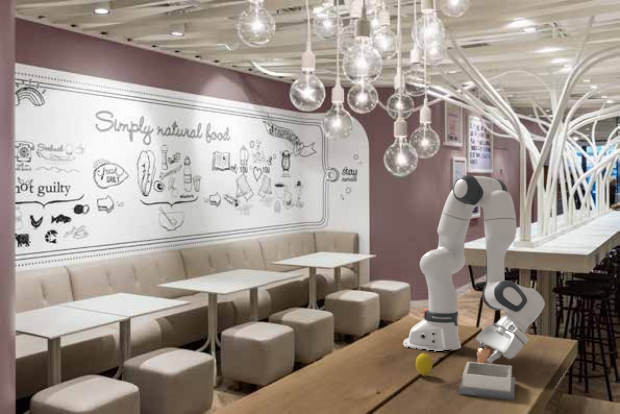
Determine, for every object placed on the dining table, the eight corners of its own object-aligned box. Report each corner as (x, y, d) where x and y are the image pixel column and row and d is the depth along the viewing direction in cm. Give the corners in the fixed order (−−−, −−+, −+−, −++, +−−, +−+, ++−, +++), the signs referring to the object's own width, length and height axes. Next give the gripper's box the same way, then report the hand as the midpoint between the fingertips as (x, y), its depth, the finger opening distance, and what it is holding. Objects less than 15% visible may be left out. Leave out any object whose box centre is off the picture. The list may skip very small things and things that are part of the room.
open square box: (459, 394, 188) (459, 374, 188) (464, 378, 203) (464, 360, 203) (513, 400, 183) (514, 380, 183) (514, 383, 198) (515, 365, 198)
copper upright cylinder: (487, 368, 214) (488, 340, 213) (495, 373, 209) (495, 344, 209) (474, 369, 213) (474, 341, 212) (481, 374, 208) (482, 345, 207)
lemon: (433, 374, 208) (433, 351, 207) (430, 379, 202) (431, 355, 202) (416, 372, 209) (417, 349, 209) (414, 377, 204) (414, 354, 204)
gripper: (488, 316, 222) (463, 345, 220) (519, 329, 202) (492, 361, 200) (498, 328, 223) (474, 356, 221) (531, 342, 203) (504, 373, 201)
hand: (483, 358), depth 210 cm, fingers closed on copper upright cylinder, 5 cm apart
